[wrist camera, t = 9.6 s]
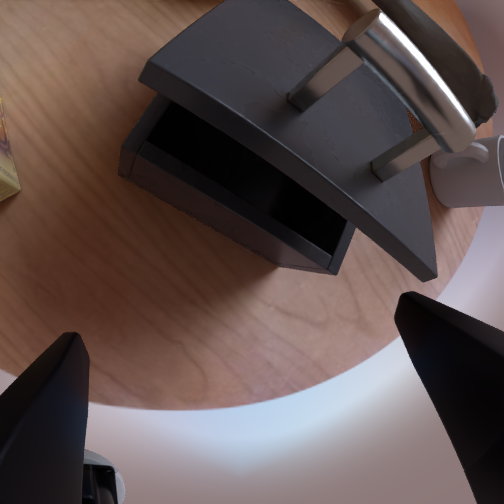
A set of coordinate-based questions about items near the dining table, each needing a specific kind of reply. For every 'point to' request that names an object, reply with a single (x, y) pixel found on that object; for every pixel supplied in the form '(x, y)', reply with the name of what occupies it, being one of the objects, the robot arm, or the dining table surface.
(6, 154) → the candy box
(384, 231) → the bin lid
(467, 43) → the dining table surface
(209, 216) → the bin
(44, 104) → the dining table surface
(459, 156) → the cup
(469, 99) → the bone
